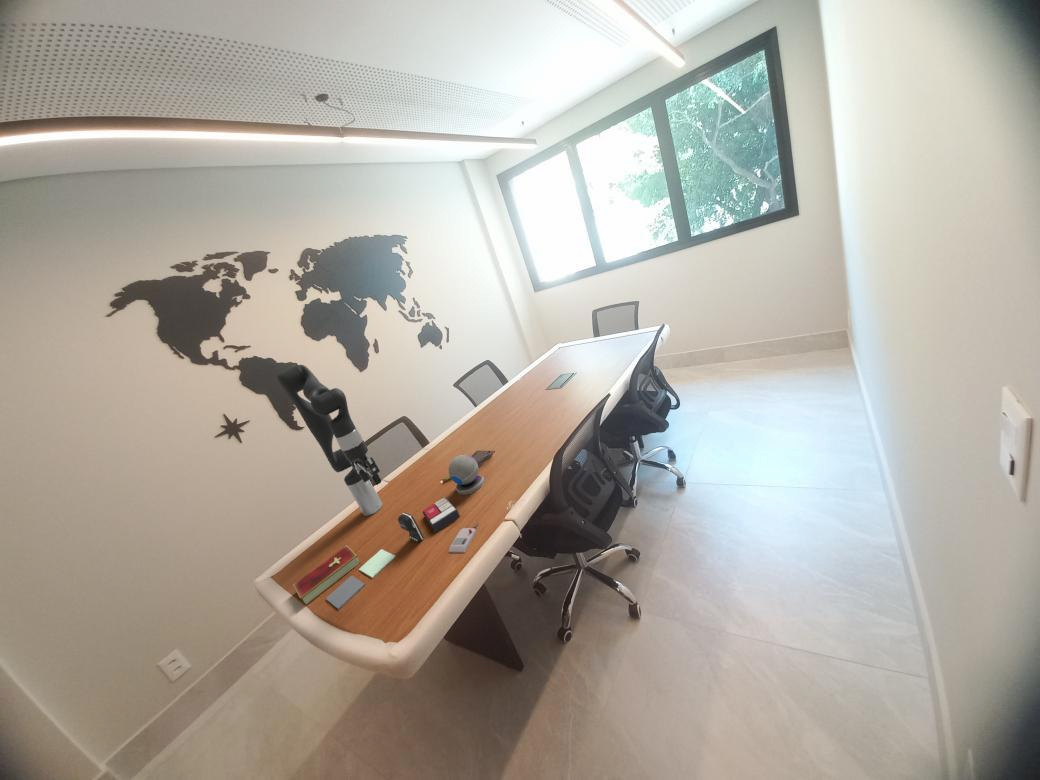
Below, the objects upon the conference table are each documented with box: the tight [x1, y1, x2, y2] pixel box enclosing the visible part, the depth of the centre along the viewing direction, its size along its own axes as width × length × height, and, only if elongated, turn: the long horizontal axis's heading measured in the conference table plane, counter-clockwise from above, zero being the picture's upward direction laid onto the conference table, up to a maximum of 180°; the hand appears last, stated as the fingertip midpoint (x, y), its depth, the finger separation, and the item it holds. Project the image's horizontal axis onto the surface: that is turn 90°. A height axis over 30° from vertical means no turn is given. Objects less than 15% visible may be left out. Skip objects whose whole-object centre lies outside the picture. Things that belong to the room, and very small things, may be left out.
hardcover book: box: [292, 545, 360, 605], centre depth 140 cm, size 12×21×4 cm, turn 134°
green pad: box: [358, 548, 396, 579], centre depth 138 cm, size 10×10×1 cm
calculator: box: [422, 497, 461, 533], centre depth 152 cm, size 11×4×15 cm
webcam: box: [448, 453, 485, 496], centre depth 165 cm, size 13×13×15 cm
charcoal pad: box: [325, 575, 366, 610], centre depth 129 cm, size 10×10×1 cm
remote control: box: [448, 522, 479, 554], centre depth 134 cm, size 7×16×3 cm, turn 160°
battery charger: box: [397, 512, 425, 544], centre depth 141 cm, size 7×4×11 cm, turn 49°
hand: (372, 482), depth 135 cm, fingers open, 8 cm apart
